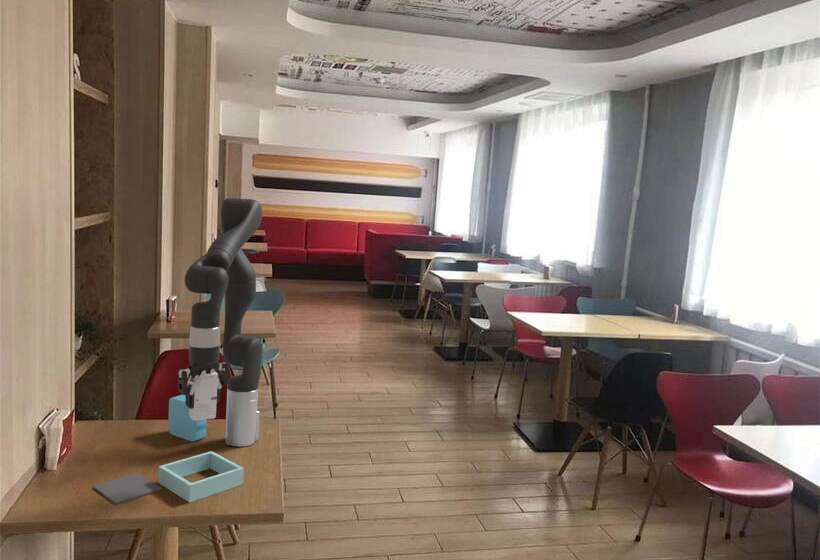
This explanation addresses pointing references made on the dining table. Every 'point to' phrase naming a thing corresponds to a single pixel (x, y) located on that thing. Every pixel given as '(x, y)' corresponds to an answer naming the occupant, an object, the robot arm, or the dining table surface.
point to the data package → (184, 421)
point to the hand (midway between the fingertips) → (202, 404)
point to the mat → (127, 488)
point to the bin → (197, 490)
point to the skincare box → (205, 398)
